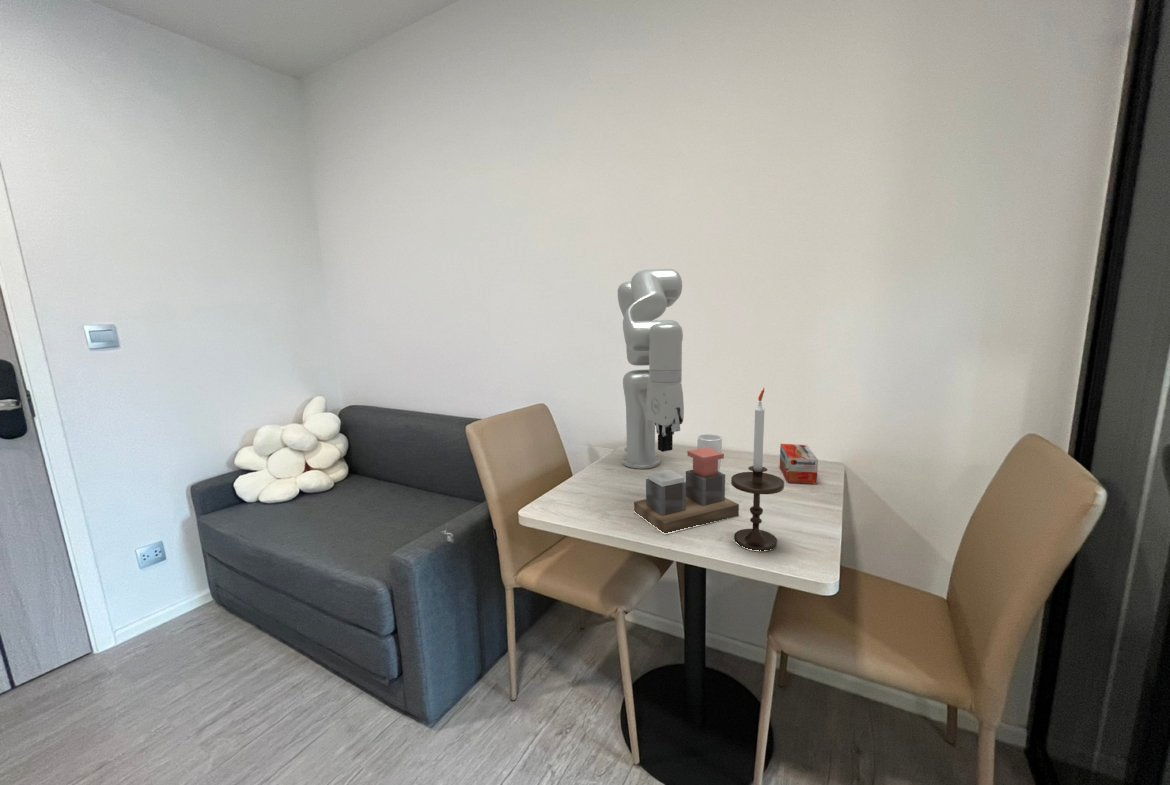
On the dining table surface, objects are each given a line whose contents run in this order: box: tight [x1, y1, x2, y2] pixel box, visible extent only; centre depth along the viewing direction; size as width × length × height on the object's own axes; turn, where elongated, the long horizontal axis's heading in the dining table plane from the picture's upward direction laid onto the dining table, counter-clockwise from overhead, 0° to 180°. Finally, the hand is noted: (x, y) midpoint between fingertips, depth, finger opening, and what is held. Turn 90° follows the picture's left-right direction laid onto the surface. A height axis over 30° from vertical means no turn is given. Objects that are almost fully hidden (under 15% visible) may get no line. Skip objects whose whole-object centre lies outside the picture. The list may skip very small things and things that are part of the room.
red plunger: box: [686, 447, 725, 477], centre depth 124 cm, size 6×6×8 cm
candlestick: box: [730, 387, 785, 551], centre depth 105 cm, size 11×11×35 cm
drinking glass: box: [696, 433, 723, 472], centre depth 140 cm, size 7×7×15 cm
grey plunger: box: [647, 469, 685, 487], centre depth 119 cm, size 6×6×8 cm
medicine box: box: [779, 443, 819, 485], centre depth 147 cm, size 15×8×8 cm, turn 168°
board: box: [633, 469, 740, 533], centre depth 122 cm, size 14×22×10 cm, turn 115°
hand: (665, 449), depth 118 cm, fingers closed
